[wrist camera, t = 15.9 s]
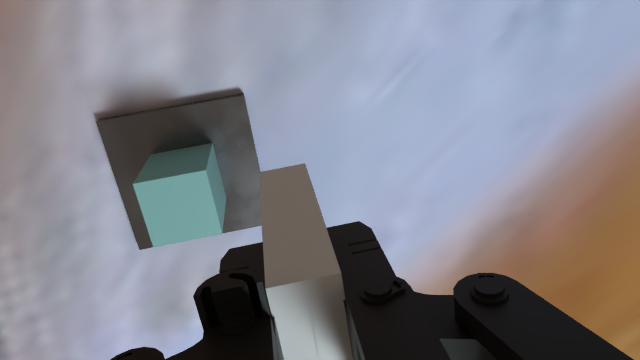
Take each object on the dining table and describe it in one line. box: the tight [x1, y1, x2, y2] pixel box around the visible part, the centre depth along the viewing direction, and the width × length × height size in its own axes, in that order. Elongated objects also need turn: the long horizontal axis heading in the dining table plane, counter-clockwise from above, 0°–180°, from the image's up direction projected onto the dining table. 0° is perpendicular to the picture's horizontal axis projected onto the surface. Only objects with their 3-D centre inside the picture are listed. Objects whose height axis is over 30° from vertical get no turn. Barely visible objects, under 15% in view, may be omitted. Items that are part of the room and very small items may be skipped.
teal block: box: [133, 143, 226, 247], centre depth 38 cm, size 5×5×7 cm
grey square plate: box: [96, 94, 262, 250], centre depth 39 cm, size 12×12×6 cm
